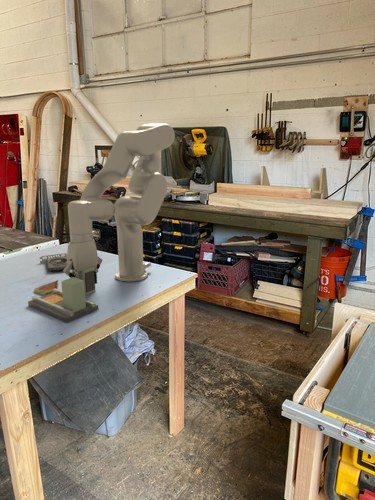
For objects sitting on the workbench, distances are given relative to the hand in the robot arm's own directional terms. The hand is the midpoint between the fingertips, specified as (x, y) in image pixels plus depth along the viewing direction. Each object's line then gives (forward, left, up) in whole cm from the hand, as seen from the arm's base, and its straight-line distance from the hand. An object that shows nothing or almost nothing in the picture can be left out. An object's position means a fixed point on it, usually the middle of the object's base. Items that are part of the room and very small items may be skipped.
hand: (85, 285), depth 133 cm
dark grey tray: (+13, +5, -2) cm, 14 cm away
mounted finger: (+13, +11, -1) cm, 17 cm away
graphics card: (-11, -33, -3) cm, 34 cm away
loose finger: (0, 0, -2) cm, 2 cm away
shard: (+7, -13, -3) cm, 15 cm away
